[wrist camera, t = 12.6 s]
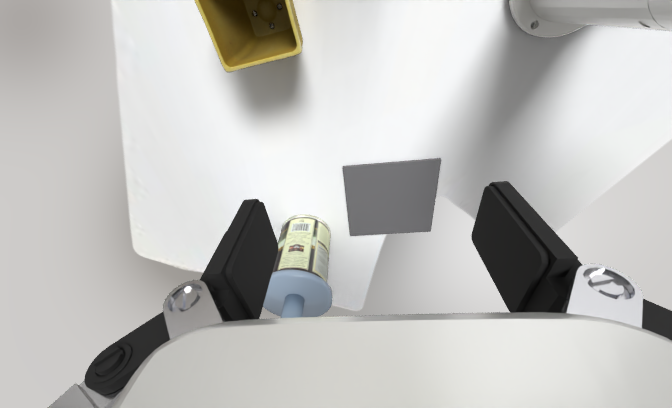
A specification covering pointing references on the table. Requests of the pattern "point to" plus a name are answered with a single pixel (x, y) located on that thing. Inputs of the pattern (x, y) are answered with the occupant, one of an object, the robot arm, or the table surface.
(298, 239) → the coffee can
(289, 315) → the lid
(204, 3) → the flower pot
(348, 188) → the mat
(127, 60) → the table surface
